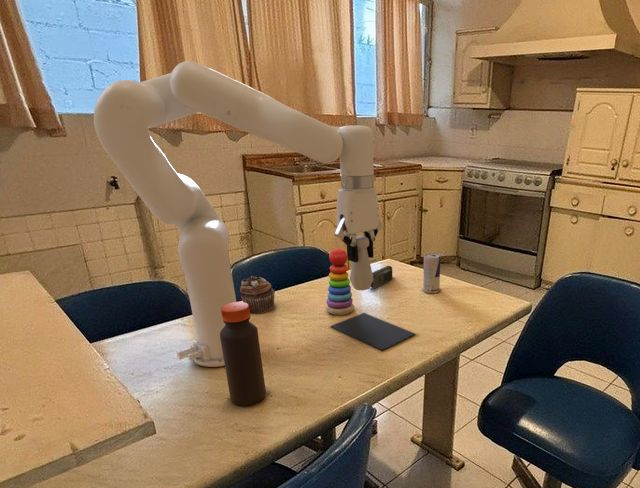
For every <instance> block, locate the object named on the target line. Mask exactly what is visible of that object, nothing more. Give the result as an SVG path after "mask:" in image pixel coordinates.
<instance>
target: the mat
mask: <svg viewBox="0 0 640 488" xmlns="http://www.w3.org/2000/svg"><path fill="white" fill-rule="evenodd" d="M330 328H332V329H334V330H336V331H338V332H340V333H343V334H345V335H347V336H349V337H351V338H353V339H355V340H357V341H360V342H361V343H364V344H366V345H368V346H371V347H373V348H374V349H377V350H379V351H381V352H383V351H385V350H388V349H390V348H392V347H393V346H396V345H398V344H400V343H403V342H404V341H406V340H408V339H410V338H412V337H414V336H416V333H414V332H412V331H409V330H407V329H405V328H403V327H399V326H397V325H394V324H393V323H390V322H387V321H385V320H382V319H380V318H377V317H375V316H372V315H370V314H367V313H365V312H363V313H360V314H357V315H355V316H353V317H350V318H348V319H345V320H343V321H340V322H338V323H335V324H332V325H330Z"/></svg>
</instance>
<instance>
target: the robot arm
mask: <svg viewBox="0 0 640 488" xmlns="http://www.w3.org/2000/svg"><path fill="white" fill-rule="evenodd" d="M198 113H201V114H203V115H205V116H207V117H210V118H213V119H215V120H218V121H219V122H222V123H224V124H226V125H229V126H230V127H231V126H232V127H233V128H235V129H238V130H241V131H243V132H245V133H247V134H250V135H252V136H254V137H256V138H259V139H263V140H266V141H269V142H272V143H274V144H277V145H279V146H281V147H284V148H286V149H288V150H290V151H293V152H295V153H298V154H300V155H301V156H305V157H307V158H309V159H310V160H311V159H312V160H314V161H316V162H318V163H321V164H322V163H323V164H330V163H333V162H335V161H337V160H338V159H339V169H340V187H341V189H340V188H339V189H338V191H337V197H336V208H335V209H336V210H335V211H336V213H335V215H336V216H335V217H336V219H335V220H336V229H335V232H334V236H335V237H336V238H338V239H339V240H341V242H343V243H344V245H345V246H346V253H347V261H349V262H351V263H352V262H358V247H357V246H355V244H356V237H357V235H358V234H360V233H362V234H363V235H362V236H364V237H367V238H368V239H369V246H368V247H367V252H368V257H369V259H372V258H374V257H375V256H374V242H375V241H376V237H377V235H378V234H379V232H380V230H381V229H383V223H382V221H381V220H380V206H379V200H378V194H377V188H376V187H375V182H376V180H377V178H376V175H374V174H375V173H374V172H375V171H374V143H373V142H374V140H373V139H374V136H373V130H372V128H371V127H369V126H367V125H342V126H334V125H329V124H327V123H325V122H323V121H320V120H318V119H316V118H314V117H312V116H310V115H308V114H305V113H303V112H301V111H299V110H296V109H294V108H293V107H291V106H288V105H286V104H285V103H282V102H280V101H278V100H277V99H275V98H274V97H272V96H270V95H268V94H266V93H264V92H262V91H260V90H258V89H255V88H253V87H251V86H249V85H247V84H244V83H242V82H240V81H238V80H236V79H234V78H231V77H229V76H227V75H225V74H223V73H221V72H219V71H217V70H215V69H213V68H210V67H209V66H206V65H204V64H202V63H199V62H196V61H192V60H188V61H187V60H186V61H182V62H179V63H178V64H176V66H174V68H173V70H172V71H171V72H169V73H167V74H164V75H160V76H157V77H153V78H150V79H147V80H144V81H140V82H139V81H136V80H131V79H121V80H116V81H114V82H111V84H109V85H108V86H106V88H104V89H103V90H102V92H101V93H100V95H99V96H98V98H97V101H96V103H95V106H94V110H93V126H94V131H95V133H96V136H97V139H98V141H99V143H100V144H101V146H102V148H103V150H104V151H105V152H106V154H107V155H108V157H109V158H110V160H111V161H112V162H113V163H114V165H115V166H116V167H117V169H118V170H119V171H120V172H121V174H122V175H123V177H124V178H125V179H126V181H127V182H128V184H129V185H130V186H131V187H132V189H133V191H135V193H136V194H137V195H138V197H139V198H140V199H141V201H142V202H143V203H144V205H145V206H146V207H147V209H148V211H149V212H150V213H151V214H152V215H153V217H155V218H156V219H157V220H158V221H160V222H162V223H164V224H167V225H173V226H174V227H175V228H176V230H177V231H178V233H179V234H180V237H179V239H178V243H177V253H178V254H177V255H178V258H179V262H180V263H179V264H180V266H181V269H182V272H183V276H184V280H185V285H186V290H187V294H188V298H189V303H190V304H189V305H190V308H191V314H192V318H193V324H194V330H195V333H196V339H193V340H192V342H193V344H192V345H190V346H189V347H188V348H186V349H185V348H184V349H180V350H177V351H176V357H177V359H178V360H180V361H181V360H184V359H186V358H187V359H188V361H192V360H193V361H194V363H195V364H196V365H199V366H201V367H208V368H218V367H225V363H224V357H223V352H222V346H221V340H220V331H221V330H222V329H223V328H224V326H225V323H224V322H223V319H222V313H221V308H222V306H224V305H226V304H229V303H233V302H237V297H236V292H235V285H234V280H233V273H232V268H231V262H230V256H229V242H230V233H229V230H228V228H227V225H226V223H225V222H224V221H223V219H222V218H221V216H220V215H219V214H218V212H217V211H216V209H215V208H214V206H213V205H212V203H211V202H210V201H209V199H208V198H207V196H206V195H205V193H204V192H203V190H202V189H201V188H200V186H199V185H198V184H197V183H196V182H195V181H194V180H193V179H192V178H191V177H189V176H187V175H185V174H181V173H178V172H177V171H176V169H175V168H174V167H173V166H172V164H171V163H170V162H169V160H168V158H167V157H166V155H165V153H163V151H162V150H161V149H160V147H159V146H158V144H156V143H155V141H154V140H153V137H152V136H151V134H150V130H149V129H152V128H157V127H159V126H163V125H166V124H168V123H171V122H174V121H177V120H181V119H183V118H187V117H189V116H192V115H195V114H198Z"/></svg>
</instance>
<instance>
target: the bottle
mask: <svg viewBox="0 0 640 488" xmlns="http://www.w3.org/2000/svg"><path fill="white" fill-rule="evenodd" d="M221 313H222V319H223V322H224V323H225V326H224V328H223V329H222V330H221V331H220V340H221V346H222V352H223V357H224V363H225V366H224V368H225V369H224V370H225V374H226V380H227V386H228V392H229V398H230V401H231V402H232V403H233V404H234V405H235V406H240V407H247V406H252V405H255V404H257V403H259V402H261V401H262V400H263V399H264V398H265V397H266V395H267V391H266V384H265V375H264V374H265V373H264V367H263V360H262V353H261V347H260V338H259V332H258V327H257V326H256V325H255V324H254V323H252V322H251V321H250V319H251V313H250V310H249V305H248V304H247V303H245V302H243V301H236V302H233V303H229V304H226V305H224V306H222V308H221Z"/></svg>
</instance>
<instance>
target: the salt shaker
mask: <svg viewBox="0 0 640 488" xmlns="http://www.w3.org/2000/svg"><path fill="white" fill-rule="evenodd" d="M355 246H357V247H358V262H352V261H351V268H350V273H349V275H350V276H349V280H350V283H351V285H352V287H353V289H355V290H356V291H366V290H369V289H371V287H370V286H371V284H372V282H373V274H372V273H373V270H372V266H371V262H370V261H371V260H370V258H369V257H368V252H367V247H368V246H369V239H368V238H367V237H364V235H358V236H356V244H355Z"/></svg>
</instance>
